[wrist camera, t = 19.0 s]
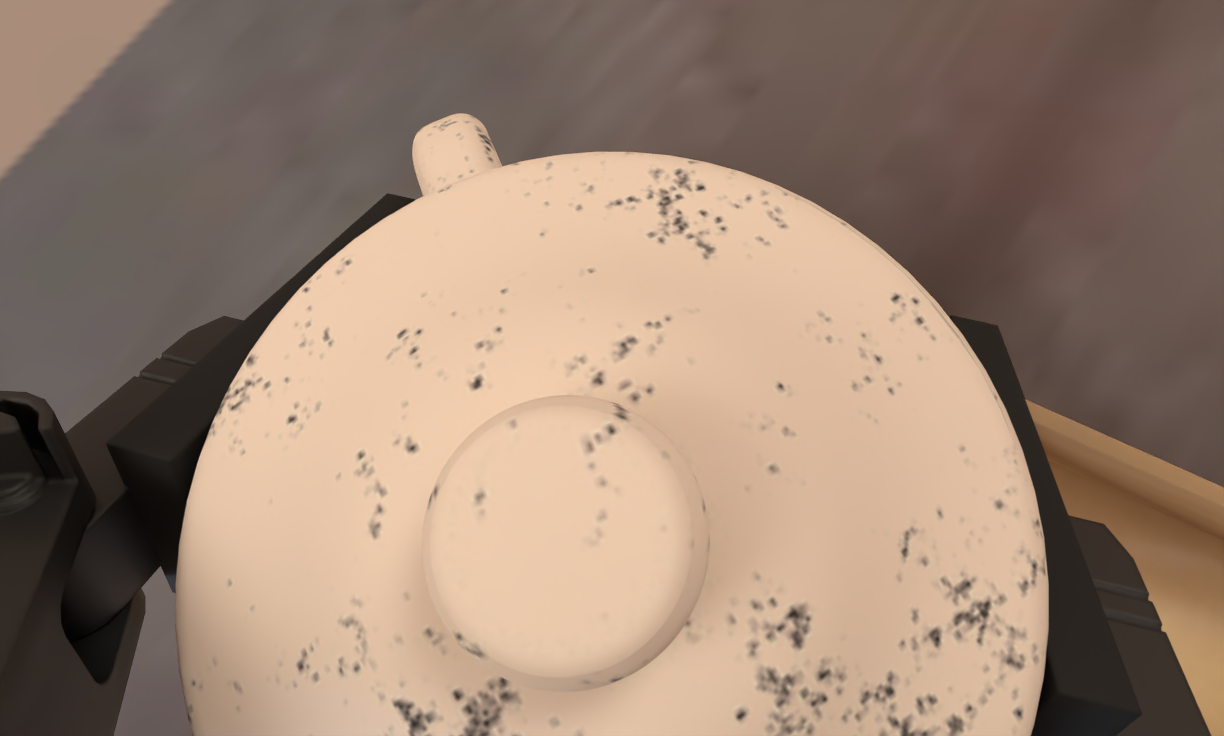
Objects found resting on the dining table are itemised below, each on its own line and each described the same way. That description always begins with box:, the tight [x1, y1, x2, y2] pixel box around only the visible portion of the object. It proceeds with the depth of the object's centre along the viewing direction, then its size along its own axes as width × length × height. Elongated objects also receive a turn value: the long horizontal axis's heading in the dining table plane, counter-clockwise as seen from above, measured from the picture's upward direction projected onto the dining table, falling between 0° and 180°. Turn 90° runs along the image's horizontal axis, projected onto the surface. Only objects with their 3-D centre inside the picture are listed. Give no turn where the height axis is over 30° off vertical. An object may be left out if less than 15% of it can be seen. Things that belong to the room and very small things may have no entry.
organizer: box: [1025, 399, 1224, 736], centre depth 17 cm, size 11×22×3 cm, turn 64°
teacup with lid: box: [175, 113, 1049, 736], centre depth 11 cm, size 12×9×12 cm
